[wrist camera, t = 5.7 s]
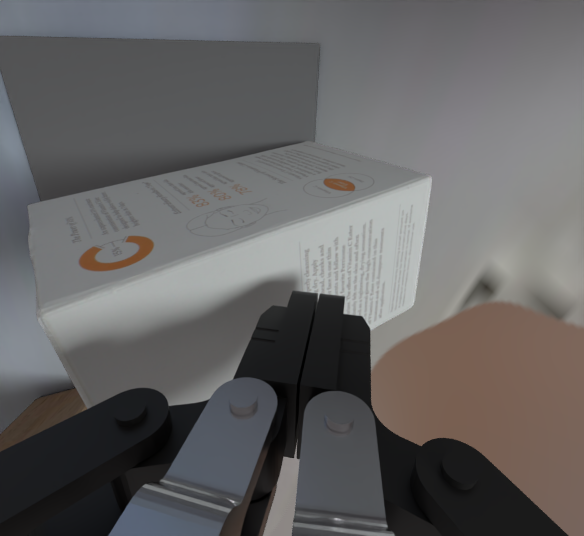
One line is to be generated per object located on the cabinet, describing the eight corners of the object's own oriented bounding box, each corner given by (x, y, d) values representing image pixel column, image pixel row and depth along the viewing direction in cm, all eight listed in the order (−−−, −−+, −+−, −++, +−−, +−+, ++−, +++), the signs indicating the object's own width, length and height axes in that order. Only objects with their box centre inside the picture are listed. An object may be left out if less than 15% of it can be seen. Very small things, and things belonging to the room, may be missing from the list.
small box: (312, 244, 23) (82, 331, 17) (309, 138, 19) (20, 200, 14) (417, 311, 17) (118, 477, 11) (439, 174, 13) (26, 310, 8)
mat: (320, 43, 18) (319, 43, 17) (306, 291, 24) (305, 294, 24) (-4, 36, 20) (-10, 35, 20) (63, 260, 27) (59, 263, 27)
